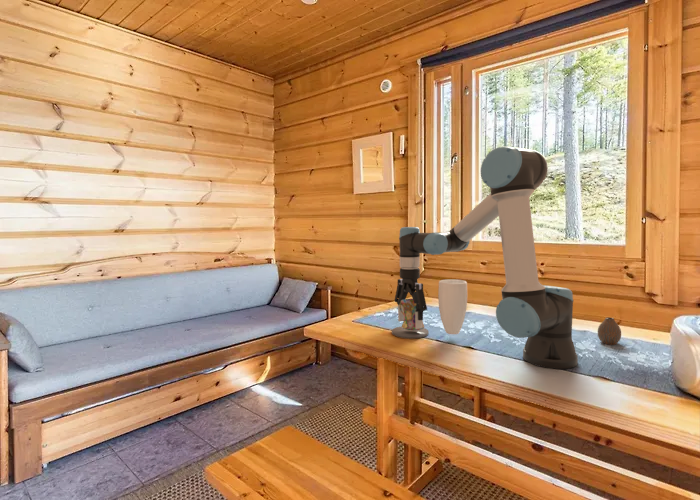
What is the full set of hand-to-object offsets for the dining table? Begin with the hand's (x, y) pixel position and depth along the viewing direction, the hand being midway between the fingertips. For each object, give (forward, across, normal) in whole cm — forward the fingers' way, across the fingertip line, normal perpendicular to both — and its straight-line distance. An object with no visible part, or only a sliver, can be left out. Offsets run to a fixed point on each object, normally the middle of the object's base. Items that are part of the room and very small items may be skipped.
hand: (410, 324), depth 156 cm
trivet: (+3, 0, 0) cm, 3 cm away
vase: (+4, -42, -54) cm, 68 cm away
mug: (+1, 0, 0) cm, 1 cm away
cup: (+4, -14, -9) cm, 17 cm away
